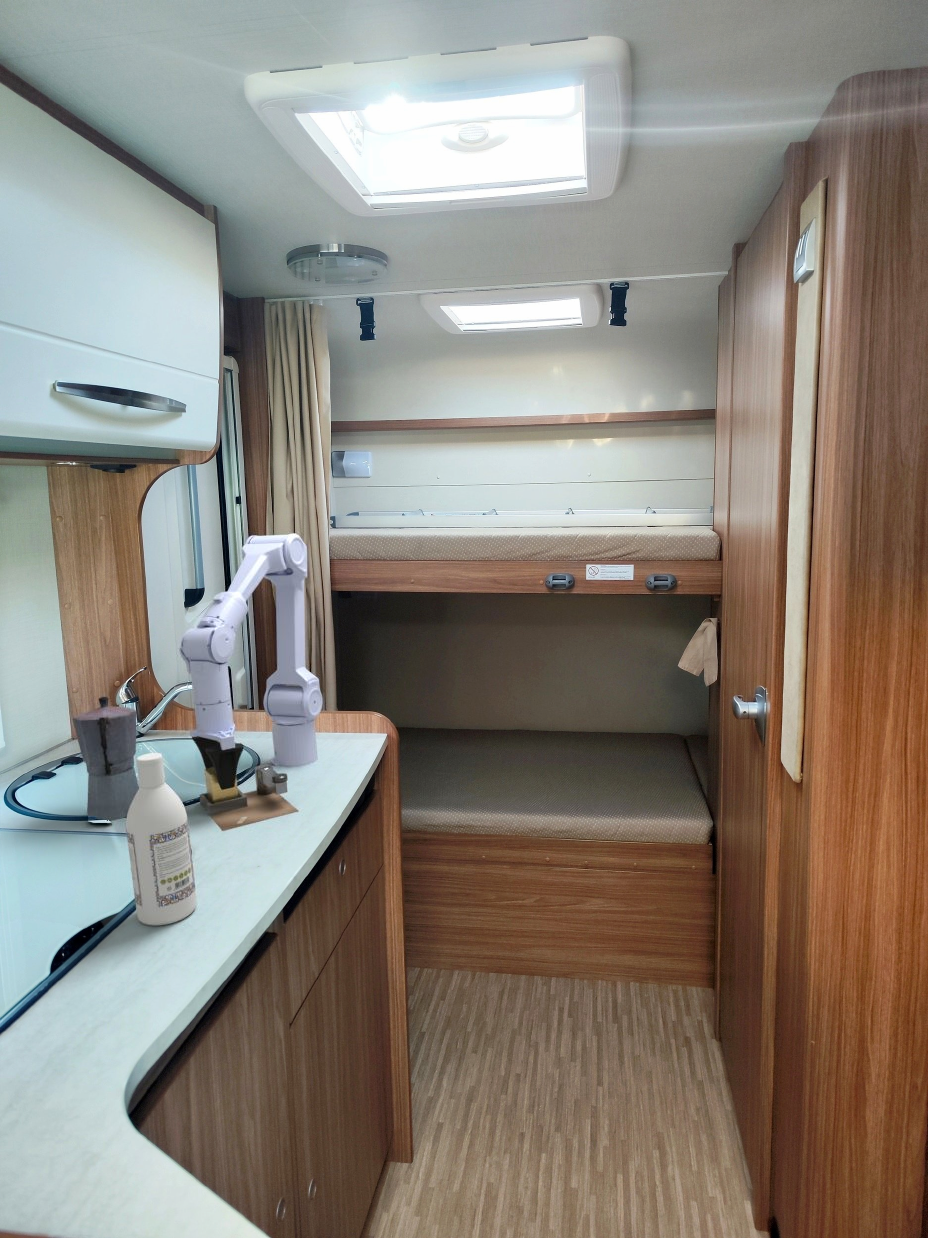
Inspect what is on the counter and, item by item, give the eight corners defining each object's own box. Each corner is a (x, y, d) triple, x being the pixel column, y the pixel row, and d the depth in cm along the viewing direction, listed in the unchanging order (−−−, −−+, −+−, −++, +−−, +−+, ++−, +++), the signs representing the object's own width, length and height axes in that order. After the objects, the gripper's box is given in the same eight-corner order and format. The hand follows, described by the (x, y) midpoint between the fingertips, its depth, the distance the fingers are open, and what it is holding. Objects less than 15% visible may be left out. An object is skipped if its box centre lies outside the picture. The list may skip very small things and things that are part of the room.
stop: (208, 803, 130) (204, 768, 129) (232, 798, 132) (228, 763, 131) (214, 811, 127) (210, 775, 126) (239, 805, 129) (235, 769, 128)
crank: (254, 791, 135) (251, 762, 134) (271, 787, 136) (269, 758, 136) (275, 810, 125) (272, 780, 125) (293, 806, 127) (291, 775, 126)
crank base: (201, 809, 131) (199, 794, 131) (271, 792, 137) (270, 778, 137) (223, 837, 119) (221, 820, 119) (299, 817, 125) (298, 801, 125)
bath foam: (208, 900, 100) (191, 747, 97) (177, 929, 93) (158, 766, 90) (159, 897, 101) (141, 747, 98) (125, 926, 95) (105, 765, 92)
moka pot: (145, 796, 139) (132, 685, 136) (152, 826, 125) (137, 703, 122) (85, 808, 135) (70, 694, 132) (86, 840, 121) (69, 713, 118)
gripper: (177, 697, 131) (186, 775, 133) (198, 714, 119) (207, 800, 121) (220, 689, 135) (228, 766, 137) (244, 705, 122) (252, 789, 124)
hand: (221, 781), depth 129 cm, fingers open, 7 cm apart
